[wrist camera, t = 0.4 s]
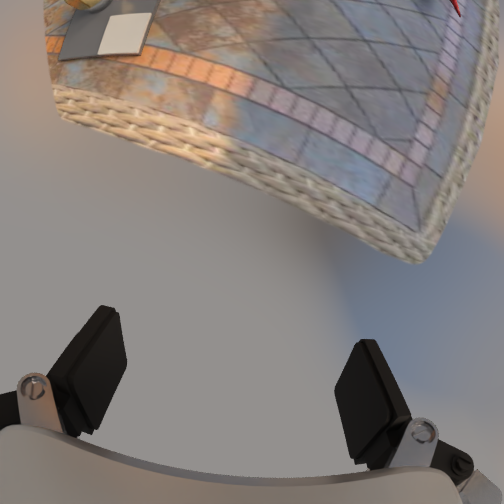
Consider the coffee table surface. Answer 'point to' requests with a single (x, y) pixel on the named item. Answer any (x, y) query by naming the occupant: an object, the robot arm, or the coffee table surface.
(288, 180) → the coffee table surface
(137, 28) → the pad
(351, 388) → the robot arm
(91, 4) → the gold lidded jar
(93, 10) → the grey knob
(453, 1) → the decorative bird figurine
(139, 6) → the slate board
